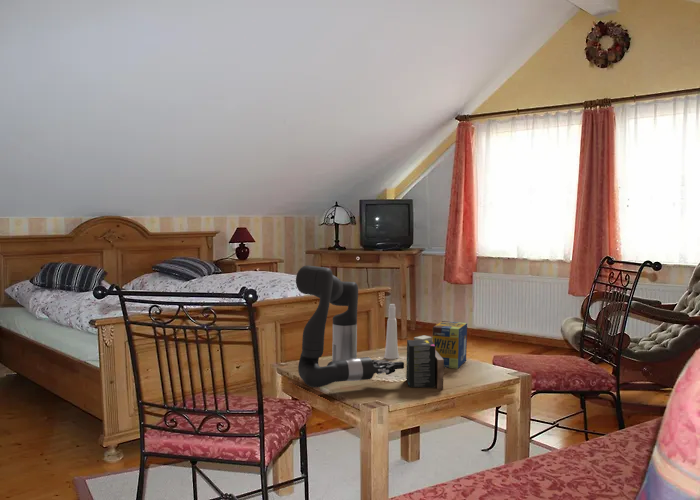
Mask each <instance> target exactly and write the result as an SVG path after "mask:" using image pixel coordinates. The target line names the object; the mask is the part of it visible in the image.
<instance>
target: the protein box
mask: <svg viewBox="0 0 700 500" xmlns="http://www.w3.org/2000/svg"><path fill="white" fill-rule="evenodd" d="M467 341H468V323H467V322H459V321H457V322H456V321H449V320H448V321H447V320H442V321H440V322H439V323H436V324H435V325H434V326H432V342H433V343H434V345H435V350H436V351H437V352H438V353H439V355H440V356H441V357H442V358H443V360H444V368H449V369H457V370H458V369H459V368H460V367H461V366H462V365H463V364H464V363H465V362H466V361H467V346H468V344H467V343H468V342H467Z"/></svg>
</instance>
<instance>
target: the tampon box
mask: <svg viewBox="0 0 700 500" xmlns="http://www.w3.org/2000/svg"><path fill="white" fill-rule="evenodd" d="M405 374H406V377H405V378H406V379H407V380H406V383H407V385H408V388H427V389H428V388H436V386H435V345H434V343H433V339H432V340H414V339H413V340H412V339H407V340H406V373H405Z"/></svg>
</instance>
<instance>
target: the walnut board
mask: <svg viewBox="0 0 700 500" xmlns="http://www.w3.org/2000/svg"><path fill="white" fill-rule="evenodd" d="M444 368H445V367H444V360H443V358H442V357H441V356H440V355H439V353H438V352H437V351H436V350H435V388H436V389H437V390H443V389H444Z"/></svg>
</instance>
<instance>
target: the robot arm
mask: <svg viewBox="0 0 700 500" xmlns="http://www.w3.org/2000/svg"><path fill="white" fill-rule="evenodd" d="M295 285H296V288H297V290H298V291H299V293H301V294H304V295H311V296H315V297H317V298H318V299H319V302H318V306H317V307H316V310H315V311H314V313H313V314H312V316H311V317H310V318H309V320H308V321H307V323H306V324H305V325H304V328H303V332H302V342H301V343H302V344H301V353H300V357H299V361H298V365H297V366H298V367H297V371H298V376H299V377H300V378H301V380H302V381H303V383H304V384H305V385H306V386H308V387H310V388H322V387H325V386H327V385H331V384H334V383H338V382H357V381H365V380H367V381H368V380H371V379H373V377H374V375H375V374H377V375H382V374H385V376H389V375H391V374H393V373H395V372H396V370H400V369H404V368H405V363H404V361H402V360H401V361H389V360H388V359H387V360H382V359H372V358H371V357H369V356H363V357H357V356H358V355H357V354H358V351H357V349H358V347H357V346H358V303H359V302H358V300H359V286H358V284H357V282H356V281H341V279H340V278H338V277H337V276H335V275H334V274H333V271H332V269H331V268H328V267H323V266H318V265H317V266H315V265H304V266H302V267H300V268H299V270H298V271H297V273H296V278H295ZM330 304H331V305H333V306H336V307H337V306H339V307H347V310H345V311H344V312H342V313H339V314H335V315H333V317H332V348H331V351H332V353H331V354H332V355H331V358H332V361H329V362H328V363H327V364H326V366H320V365H319V359H320V358H321V357H322V356H323V353H324V347H325V333H326V331H325V330H326V325H327V324H326V323H327V318H328V314H329V309H330Z"/></svg>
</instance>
